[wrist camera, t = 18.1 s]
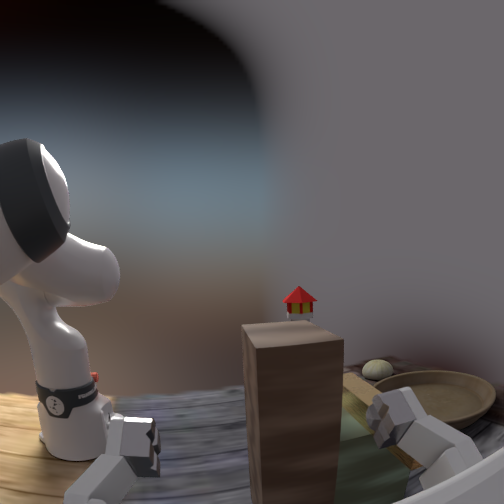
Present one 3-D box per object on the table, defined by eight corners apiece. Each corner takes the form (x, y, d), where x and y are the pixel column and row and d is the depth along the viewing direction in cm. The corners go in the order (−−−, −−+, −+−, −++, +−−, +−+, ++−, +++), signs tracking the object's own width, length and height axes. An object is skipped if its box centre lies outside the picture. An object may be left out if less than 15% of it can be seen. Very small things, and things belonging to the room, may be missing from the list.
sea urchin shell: (379, 378, 78) (366, 355, 83) (365, 391, 83) (353, 369, 88) (401, 370, 81) (388, 349, 87) (387, 383, 86) (375, 363, 92)
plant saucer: (465, 378, 69) (467, 363, 69) (514, 424, 39) (519, 404, 39) (361, 389, 77) (362, 374, 77) (372, 450, 47) (375, 429, 47)
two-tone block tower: (250, 495, 37) (241, 324, 38) (363, 473, 40) (374, 312, 41) (264, 548, 25) (256, 348, 27) (398, 513, 28) (428, 324, 29)
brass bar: (330, 395, 39) (331, 375, 40) (351, 392, 40) (351, 372, 40) (411, 470, 20) (416, 443, 20) (437, 459, 20) (443, 432, 20)
